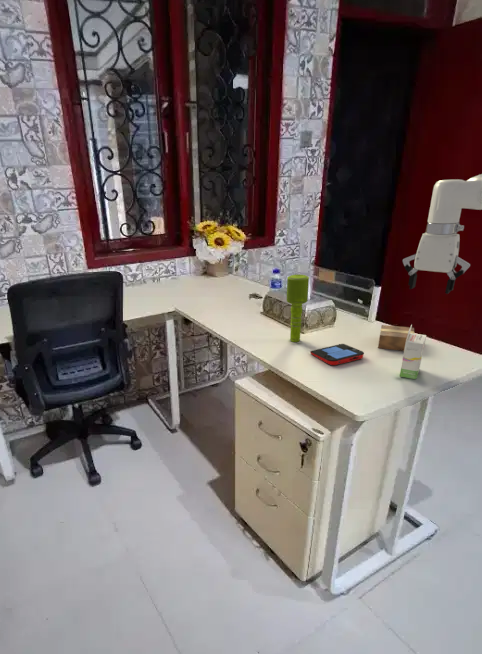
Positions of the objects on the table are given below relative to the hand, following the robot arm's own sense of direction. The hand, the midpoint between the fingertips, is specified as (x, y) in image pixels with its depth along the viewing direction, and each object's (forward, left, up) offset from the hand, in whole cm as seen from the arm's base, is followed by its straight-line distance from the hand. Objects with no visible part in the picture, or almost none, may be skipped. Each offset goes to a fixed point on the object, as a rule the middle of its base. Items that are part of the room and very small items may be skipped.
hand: (429, 290), depth 121 cm
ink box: (+1, +3, -26) cm, 26 cm away
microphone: (+41, -13, -26) cm, 50 cm away
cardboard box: (+6, -20, -26) cm, 33 cm away
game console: (+24, -3, -26) cm, 36 cm away
